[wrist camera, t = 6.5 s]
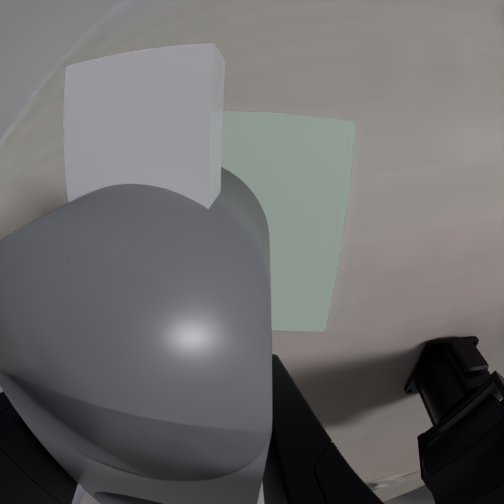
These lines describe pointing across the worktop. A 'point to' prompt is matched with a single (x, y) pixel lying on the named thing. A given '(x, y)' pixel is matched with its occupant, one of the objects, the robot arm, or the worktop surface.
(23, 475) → the robot arm
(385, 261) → the worktop surface
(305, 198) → the sage board
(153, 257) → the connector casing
